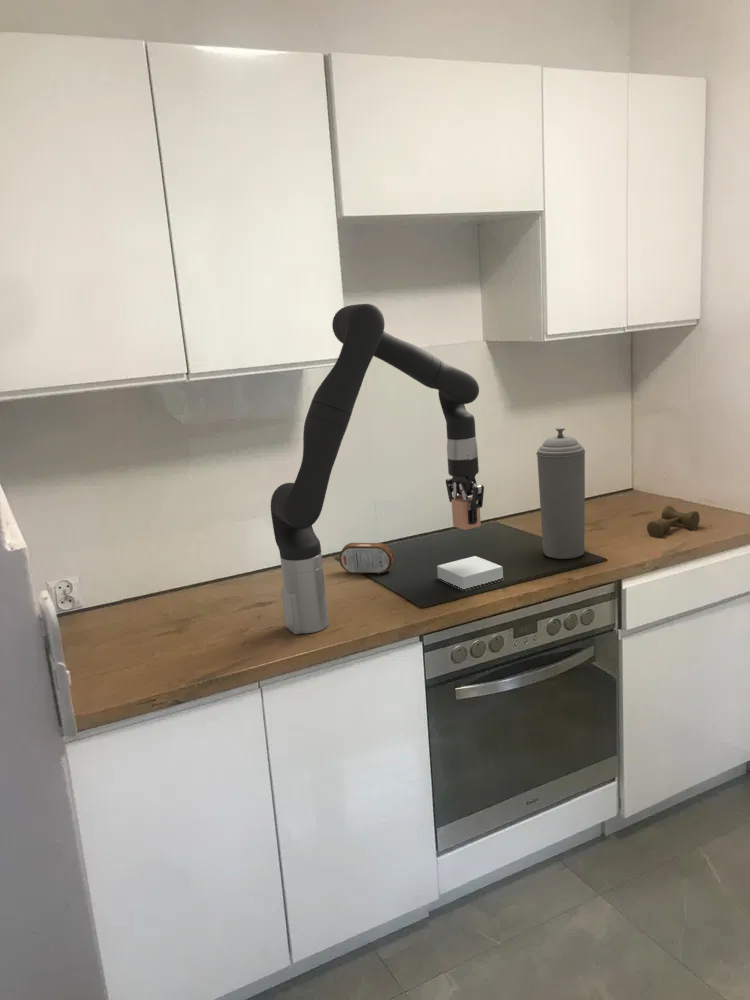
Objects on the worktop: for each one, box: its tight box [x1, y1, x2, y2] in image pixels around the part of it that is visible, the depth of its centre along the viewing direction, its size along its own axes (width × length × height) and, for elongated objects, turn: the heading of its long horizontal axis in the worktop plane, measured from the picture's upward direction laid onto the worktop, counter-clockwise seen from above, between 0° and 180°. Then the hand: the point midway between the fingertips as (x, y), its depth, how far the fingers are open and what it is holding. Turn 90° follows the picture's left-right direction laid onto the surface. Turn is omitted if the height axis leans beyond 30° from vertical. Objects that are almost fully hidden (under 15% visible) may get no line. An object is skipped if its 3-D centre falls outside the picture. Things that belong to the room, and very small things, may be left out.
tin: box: [338, 542, 395, 575], centre depth 213 cm, size 15×3×8 cm, turn 74°
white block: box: [436, 555, 504, 589], centre depth 201 cm, size 12×12×4 cm
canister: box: [535, 426, 586, 560], centre depth 211 cm, size 13×13×35 cm
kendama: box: [646, 505, 701, 539], centre depth 228 cm, size 6×10×20 cm
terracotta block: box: [451, 496, 482, 531], centre depth 198 cm, size 5×5×7 cm
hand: (466, 521), depth 198 cm, fingers closed on terracotta block, 5 cm apart
